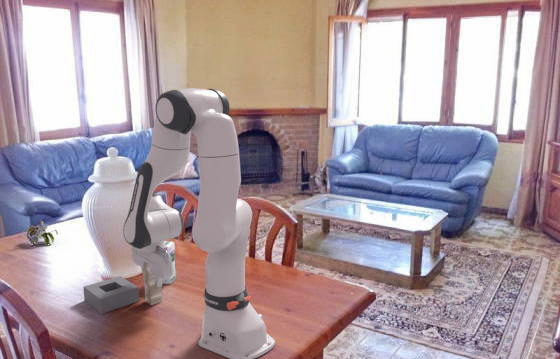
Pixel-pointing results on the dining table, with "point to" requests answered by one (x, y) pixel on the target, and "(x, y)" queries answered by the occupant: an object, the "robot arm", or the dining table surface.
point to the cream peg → (151, 286)
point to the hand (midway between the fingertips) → (153, 282)
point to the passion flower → (39, 233)
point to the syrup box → (171, 251)
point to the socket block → (111, 294)
